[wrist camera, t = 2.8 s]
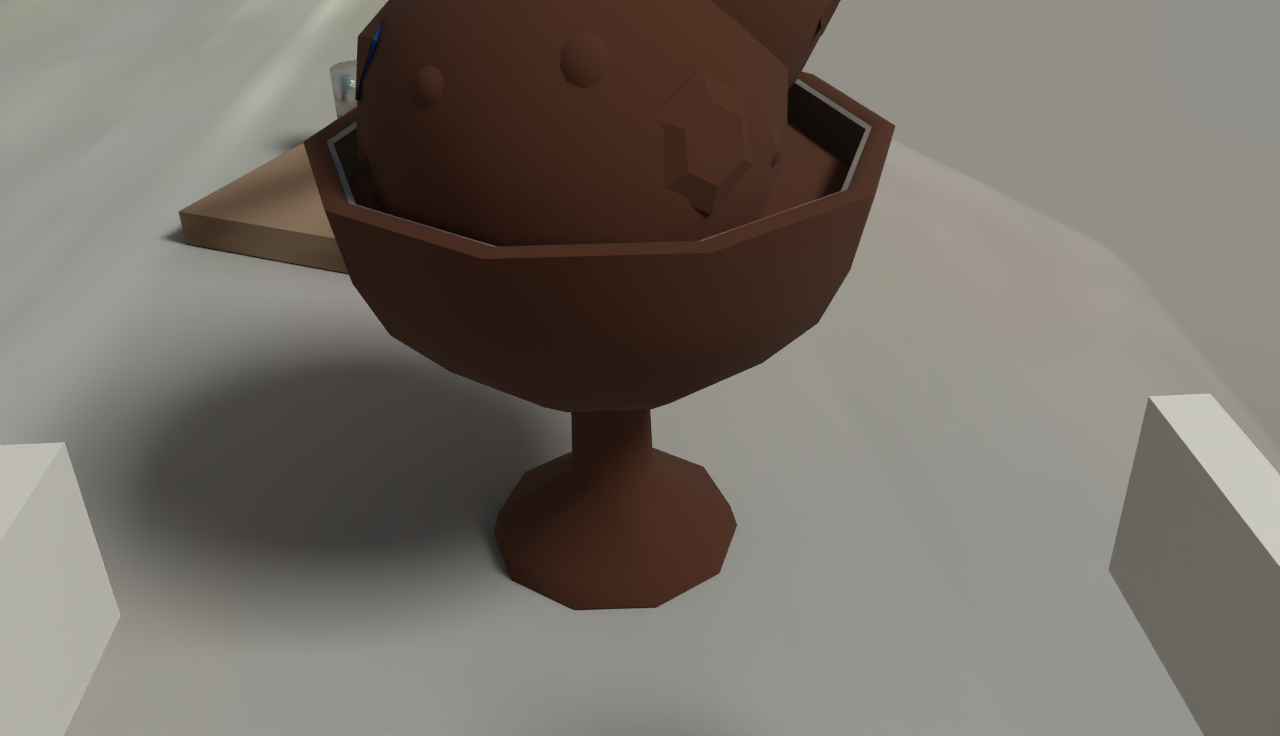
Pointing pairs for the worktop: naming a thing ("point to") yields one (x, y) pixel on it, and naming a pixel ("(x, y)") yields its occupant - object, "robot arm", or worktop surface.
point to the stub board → (275, 204)
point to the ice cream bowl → (600, 239)
